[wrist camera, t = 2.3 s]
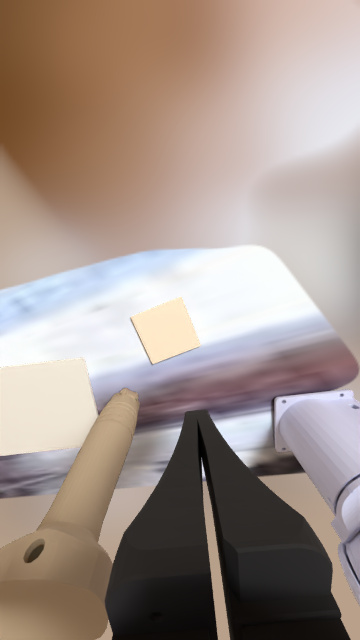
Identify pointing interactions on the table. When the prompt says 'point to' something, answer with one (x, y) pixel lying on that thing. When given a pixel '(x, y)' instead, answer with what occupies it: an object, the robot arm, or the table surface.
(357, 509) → the robot arm
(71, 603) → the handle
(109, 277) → the table surface
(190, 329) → the beige tile
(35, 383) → the felt mat
